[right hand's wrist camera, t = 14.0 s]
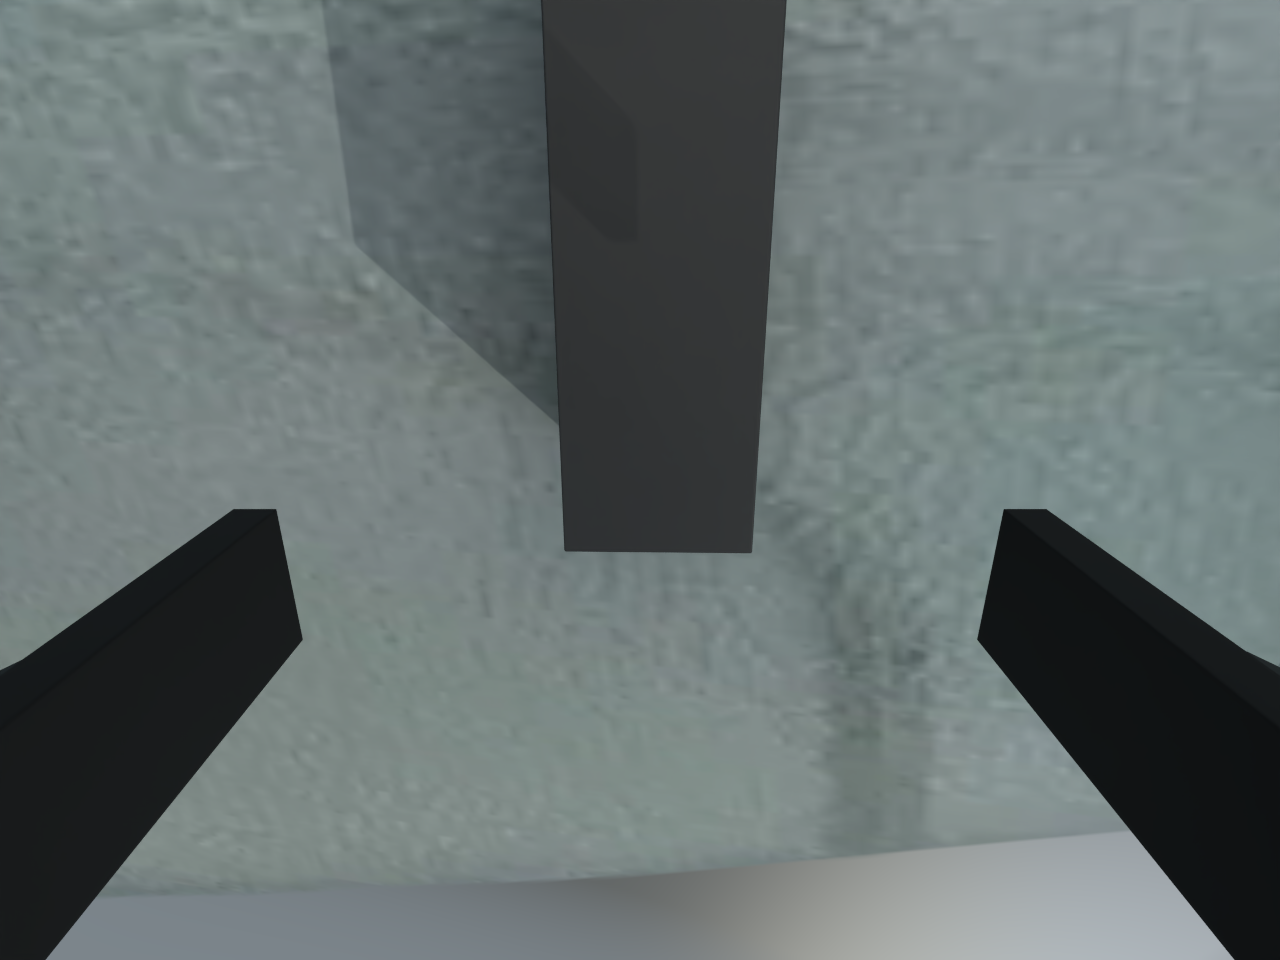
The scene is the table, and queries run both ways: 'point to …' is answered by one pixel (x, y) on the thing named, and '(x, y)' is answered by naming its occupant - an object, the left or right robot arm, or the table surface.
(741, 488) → the box
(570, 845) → the table surface
